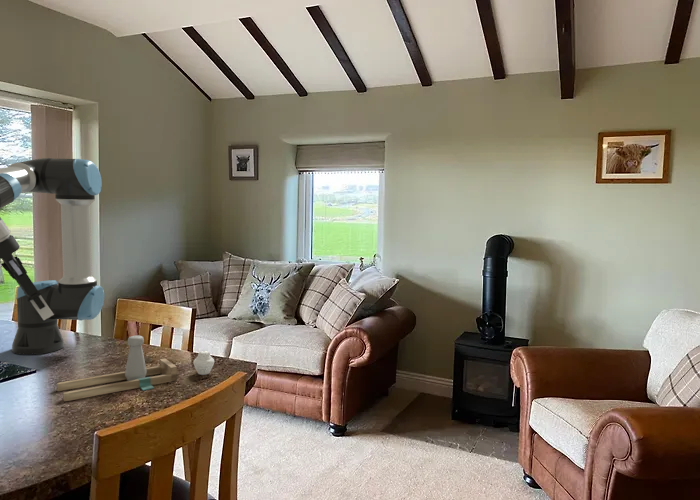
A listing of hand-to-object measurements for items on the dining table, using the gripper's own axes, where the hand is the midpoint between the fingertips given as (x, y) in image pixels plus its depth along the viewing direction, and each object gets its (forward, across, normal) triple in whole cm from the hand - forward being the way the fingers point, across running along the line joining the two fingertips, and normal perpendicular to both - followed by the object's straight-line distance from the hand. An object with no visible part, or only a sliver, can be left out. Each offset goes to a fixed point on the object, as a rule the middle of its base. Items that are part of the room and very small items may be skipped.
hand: (48, 316), depth 139 cm
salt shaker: (+27, +8, +8) cm, 30 cm away
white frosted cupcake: (+36, +13, +25) cm, 45 cm away
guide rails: (+25, +9, +4) cm, 26 cm away
